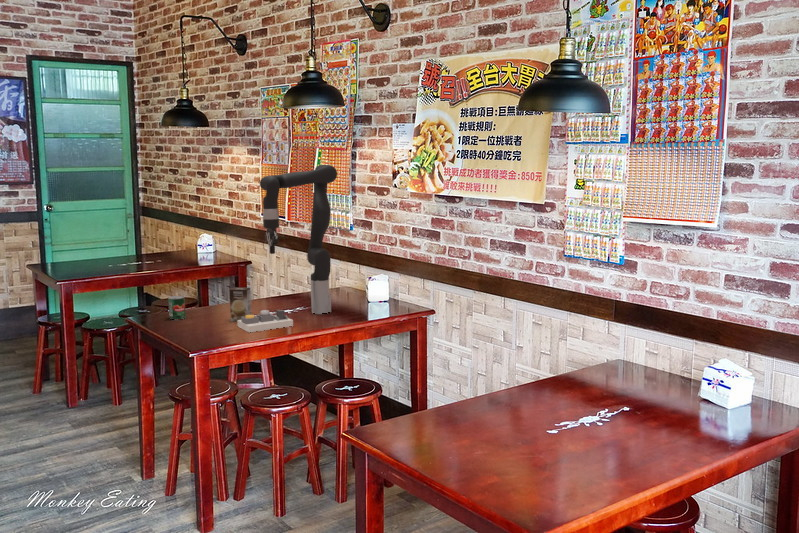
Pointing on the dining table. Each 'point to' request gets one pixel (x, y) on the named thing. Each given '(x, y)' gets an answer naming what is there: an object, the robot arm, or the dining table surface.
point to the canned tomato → (176, 307)
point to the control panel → (263, 323)
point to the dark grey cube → (280, 314)
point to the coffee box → (240, 302)
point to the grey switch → (265, 313)
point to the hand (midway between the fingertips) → (272, 253)
